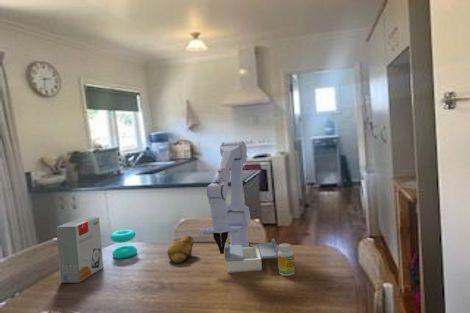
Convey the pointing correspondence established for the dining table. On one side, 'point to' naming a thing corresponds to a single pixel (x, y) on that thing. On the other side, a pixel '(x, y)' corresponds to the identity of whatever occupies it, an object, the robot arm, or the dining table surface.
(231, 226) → the robot arm
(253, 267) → the carton
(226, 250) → the flap
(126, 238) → the donuts
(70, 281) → the hard drive box
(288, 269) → the supplement bottle
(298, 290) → the dining table surface
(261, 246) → the flap
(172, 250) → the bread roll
